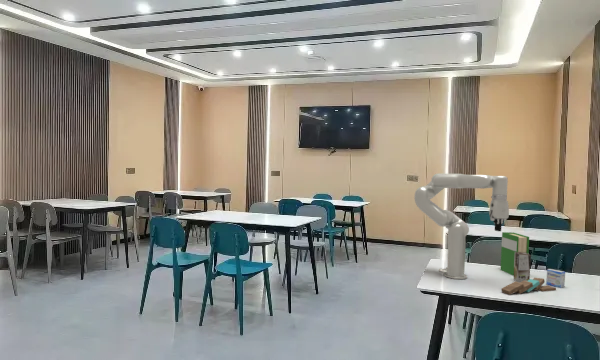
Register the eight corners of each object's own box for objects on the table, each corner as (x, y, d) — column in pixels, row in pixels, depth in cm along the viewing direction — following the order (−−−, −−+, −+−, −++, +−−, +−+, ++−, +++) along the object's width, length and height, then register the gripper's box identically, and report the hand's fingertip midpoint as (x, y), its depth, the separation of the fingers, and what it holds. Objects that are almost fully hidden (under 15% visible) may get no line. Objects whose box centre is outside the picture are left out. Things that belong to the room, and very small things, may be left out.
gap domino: (519, 290, 232) (530, 282, 236) (528, 292, 227) (539, 284, 232) (518, 286, 232) (530, 278, 236) (527, 289, 227) (539, 280, 232)
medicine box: (545, 284, 246) (546, 269, 245) (549, 283, 248) (550, 268, 248) (560, 288, 239) (561, 272, 239) (564, 287, 242) (565, 271, 242)
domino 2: (519, 290, 224) (532, 282, 228) (510, 288, 229) (523, 280, 232) (519, 294, 224) (533, 286, 228) (511, 291, 229) (524, 283, 233)
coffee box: (529, 283, 246) (531, 255, 246) (517, 282, 248) (518, 254, 247) (525, 280, 255) (526, 252, 255) (513, 279, 256) (514, 251, 256)
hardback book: (527, 276, 263) (529, 236, 262) (515, 276, 263) (517, 236, 262) (511, 270, 281) (513, 232, 280) (500, 269, 280) (502, 232, 280)
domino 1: (509, 291, 222) (523, 283, 225) (501, 288, 227) (515, 281, 230) (509, 294, 222) (524, 287, 226) (501, 292, 227) (516, 284, 230)
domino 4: (542, 289, 231) (556, 287, 234) (534, 286, 235) (547, 285, 239) (542, 292, 231) (555, 291, 234) (533, 290, 235) (547, 289, 239)
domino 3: (536, 286, 230) (544, 278, 237) (526, 285, 234) (534, 277, 240) (537, 290, 231) (544, 282, 237) (527, 289, 235) (535, 280, 241)
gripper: (494, 198, 239) (492, 232, 239) (515, 198, 244) (513, 231, 244) (483, 197, 246) (482, 230, 246) (504, 197, 251) (502, 229, 251)
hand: (497, 230), depth 245 cm, fingers closed
